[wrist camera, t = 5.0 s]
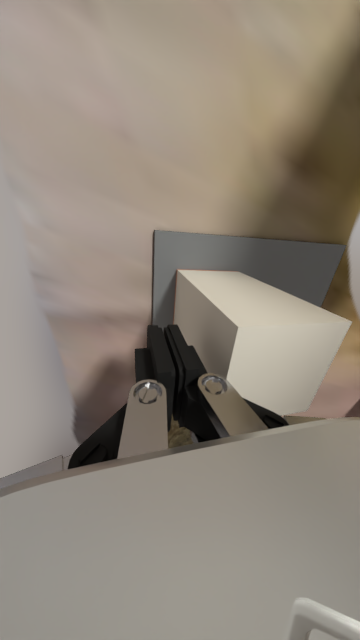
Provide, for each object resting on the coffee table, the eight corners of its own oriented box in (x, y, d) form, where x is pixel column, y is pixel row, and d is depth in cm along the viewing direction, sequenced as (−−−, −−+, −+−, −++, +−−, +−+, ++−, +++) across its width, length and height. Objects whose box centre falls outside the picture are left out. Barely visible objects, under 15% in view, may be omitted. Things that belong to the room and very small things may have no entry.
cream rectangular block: (176, 269, 17) (238, 327, 8) (237, 270, 19) (352, 321, 9) (172, 328, 20) (215, 427, 10) (226, 326, 21) (307, 411, 12)
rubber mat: (154, 230, 16) (154, 230, 16) (343, 245, 21) (346, 245, 21) (152, 353, 21) (152, 354, 21) (304, 341, 26) (305, 342, 26)
